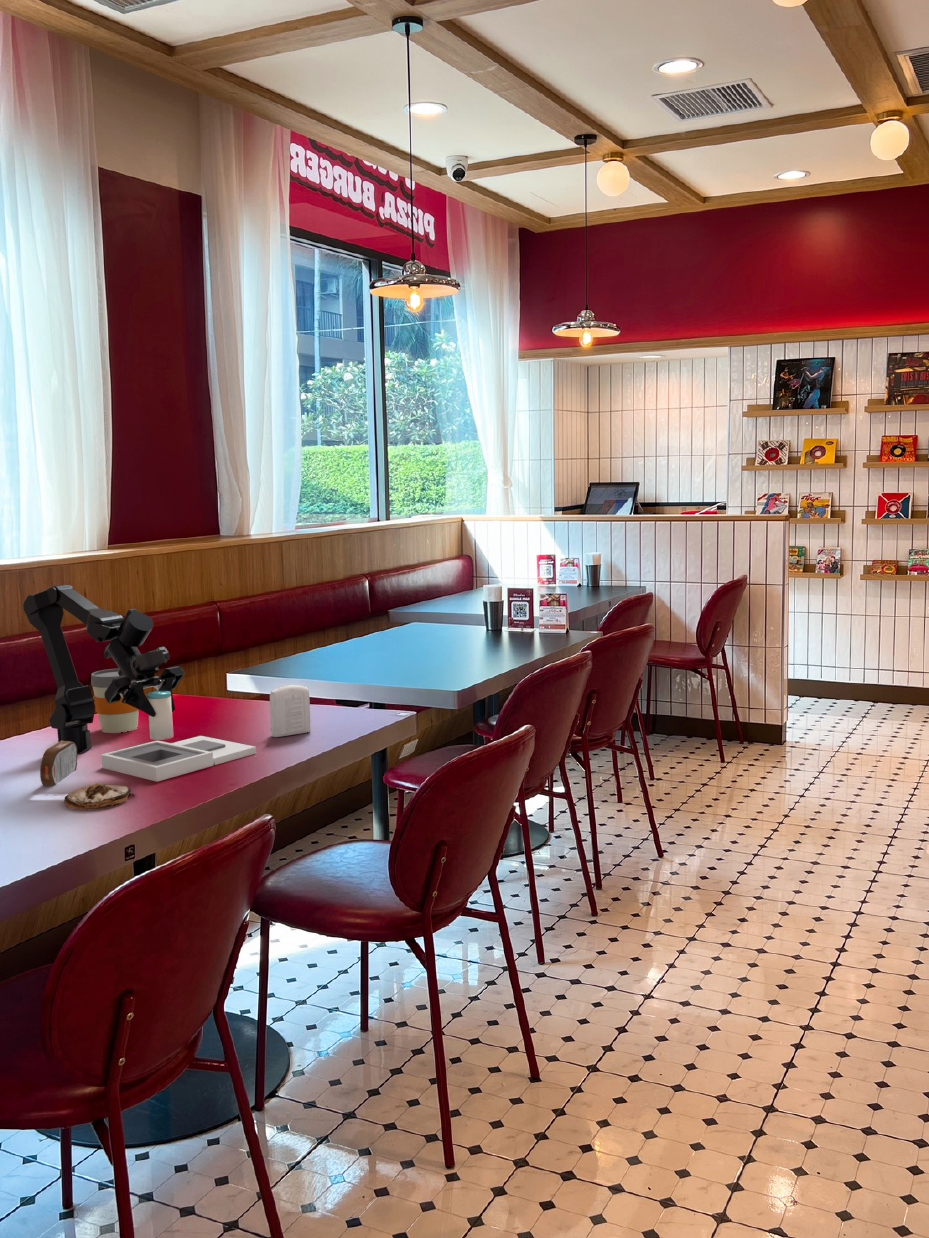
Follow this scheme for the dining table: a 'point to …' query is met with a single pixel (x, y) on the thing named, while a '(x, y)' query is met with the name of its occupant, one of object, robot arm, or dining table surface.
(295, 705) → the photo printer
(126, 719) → the reusable coffee cup
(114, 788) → the brown topped flatbread
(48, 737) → the dining table surface
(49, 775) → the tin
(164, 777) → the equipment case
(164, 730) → the ball
